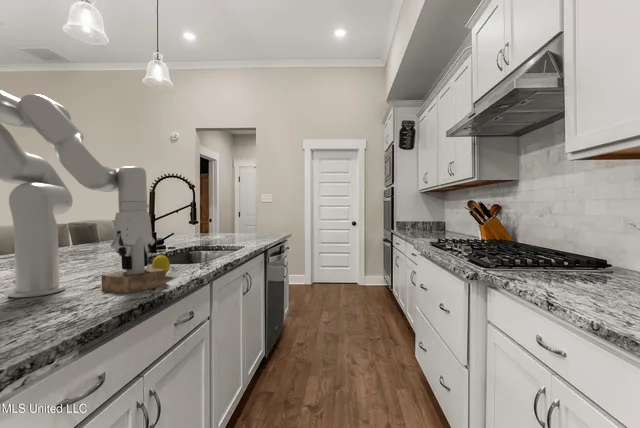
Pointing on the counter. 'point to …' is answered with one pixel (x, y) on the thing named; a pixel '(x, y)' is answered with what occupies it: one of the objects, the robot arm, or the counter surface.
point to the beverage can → (137, 257)
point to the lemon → (161, 263)
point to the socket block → (133, 280)
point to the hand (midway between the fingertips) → (135, 267)
